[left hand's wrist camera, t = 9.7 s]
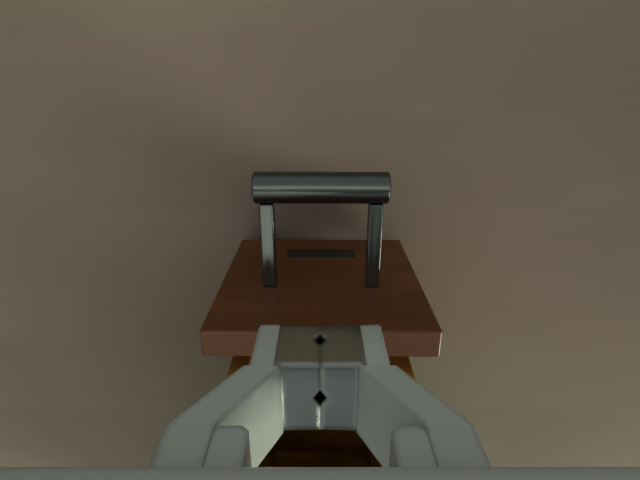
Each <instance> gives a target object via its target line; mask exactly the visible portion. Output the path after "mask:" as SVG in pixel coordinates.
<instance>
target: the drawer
mask: <svg viewBox="0 0 640 480" xmlns="http://www.w3.org/2000/svg"><path fill="white" fill-rule="evenodd" d="M390 195H391V177H390V174H389V172H254V173H253V176H252V198H253V201H254V203H260V204H259V218H260V236H261V240H242V242H241V244H240V247H239V249H238V251H237V253H236V255H235V257H234V259H233V261H232V264H231V266H230V268H229V270H228V272H227V274H226V276H225V279H224V281H223V283H222V285H221V287H220V289H219V291H218V293H217V296H216V298H215V300H214V302H213V304H212V306H211V308H210V311H209V313H208V315H207V317H206V319H205V321H204V323H203V326H202V328H201V330H200V337H201V345H202V353H203V356H233V359H232V362H231V365H230V368H229V372H228V375H227V378H228V377H229V376H231V375H232V374H233V373H235V372H236V371H237V370H238V369H240V368H241V367H242V366H244V365H250V362H251V358H252V354H253V350H254V346H255V342H256V338H257V334H258V329H259V327H260V326H261V325H280V326H281V325H311V326H355V325H378V324H379V325H380V326H381V330H382V334H383V338H384V342H385V346H386V350H387V354H388V358H389V362H390V365H396V366H398V367H399V368H400V369H402V370H403V371H404V372H405V373H407V374H408V375H409V376H411V377H412V378H413V379H415V376H414V373H413V370H412V366H411V363H410V360H409V357H408V356H439V354H440V346H441V339H442V330H441V328H440V326H439V324H438V321H437V319H436V317H435V315H434V313H433V311H432V309H431V307H430V304H429V302H428V300H427V298H426V296H425V294H424V292H423V290H422V288H421V285H420V283H419V281H418V279H417V277H416V275H415V273H414V271H413V269H412V266H411V264H410V262H409V260H408V258H407V256H406V254H405V252H404V250H403V247H402V245H401V243H400V241H399V240H382V225H383V209H384V205H383V203H384V204H387V203H389V200H390ZM274 203H368V220H367V240H276V237H275V213H274ZM227 378H226V379H227ZM415 380H416V379H415ZM283 432H284V433H283V434H282V435H281V437H280V438H279V439H278V441H277V442H276V443H275V444H274V446H273V447H272V448H271V450H270V451H269V452H268V454H267V455H266V456H265V458H264V459H263V460H262V462H261V463H260V464H259V466H258V467H382V465H381V464H380V463H379V461H378V460H377V459H376V457H375V456H374V455H373V453H372V452H371V451H370V449H369V448H368V447H367V445H366V444H365V443H364V441H363V440H362V439H361V437H360V436H359V435H358V433H357V430H322V429H317V430H283Z"/></svg>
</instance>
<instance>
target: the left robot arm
mask: <svg viewBox="0 0 640 480" xmlns="http://www.w3.org/2000/svg"><path fill="white" fill-rule="evenodd" d="M317 429H322V430H357V433H358V435H359V436H360V437H361V439H362V440H363V441H364V443H365V444H366V445H367V447H368V448H369V449H370V451H371V452H372V453H373V455H374V456H375V457H376V459H377V460H378V461H379V463H380V464H381V465H382V467H258V466H259V464H260V463H261V462H262V460H263V459H264V458H265V456H266V455H267V454H268V452H269V451H270V450H271V448H272V447H273V446H274V444H275V443H276V442H277V441H278V439H279V438H280V437H281V435H282V434H283V433H284V432H283V430H317ZM0 480H640V467H491V465H490V463H489V460H488V458H487V456H486V453H485V451H484V449H483V447H482V444H481V442H480V440H479V437H478V435H477V433H476V431H475V428H474V426H473V424H472V423H470V422H469V421H468V420H466V419H465V418H464V417H462V416H461V415H460V414H459V413H457V412H456V411H455V410H453V409H452V408H451V407H450V406H448V405H447V404H446V403H444V402H443V401H442V400H440V399H439V398H438V397H437V396H435V395H434V394H433V393H431V392H430V391H429V390H427V389H426V388H425V387H424V386H422V385H421V384H420V383H418V382H417V381H416V380H415V379H413V378H412V377H411V376H409V375H408V374H407V373H405V372H404V371H403V370H402V369H400V368H399V367H398V366H396V365H390V362H389V358H388V354H387V350H386V346H385V342H384V338H383V334H382V330H381V326H380V325H379V324H378V325H355V326H311V325H281V326H280V325H261V326H260V327H259V329H258V334H257V338H256V342H255V346H254V350H253V354H252V358H251V362H250V365H244V366H242V367H241V368H240V369H238V370H237V371H236V372H235V373H233V374H232V375H231V376H229V377H228V378H227V379H225V380H224V381H223V382H222V383H220V384H219V385H218V386H216V387H215V388H214V389H212V390H211V391H210V392H209V393H207V394H206V395H205V396H203V397H202V398H201V399H199V400H198V401H197V402H195V403H194V404H193V405H192V406H190V407H189V408H188V409H186V410H185V411H184V412H182V413H181V414H180V415H179V416H177V417H176V418H175V419H173V420H172V421H171V422H169V423H168V424H167V426H166V429H165V431H164V433H163V435H162V438H161V440H160V442H159V444H158V447H157V449H156V451H155V454H154V456H153V458H152V460H151V463H150V465H149V467H0Z"/></svg>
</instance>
